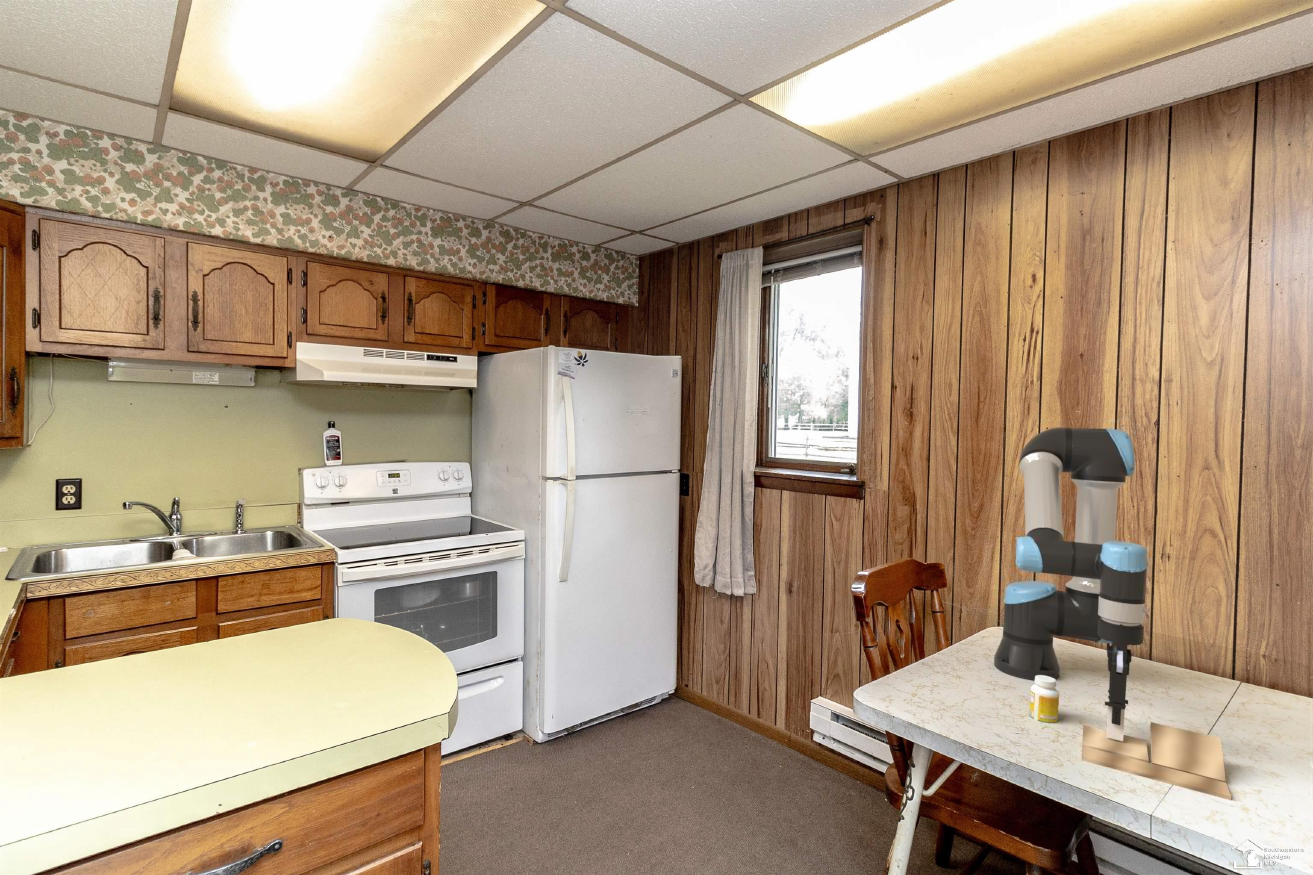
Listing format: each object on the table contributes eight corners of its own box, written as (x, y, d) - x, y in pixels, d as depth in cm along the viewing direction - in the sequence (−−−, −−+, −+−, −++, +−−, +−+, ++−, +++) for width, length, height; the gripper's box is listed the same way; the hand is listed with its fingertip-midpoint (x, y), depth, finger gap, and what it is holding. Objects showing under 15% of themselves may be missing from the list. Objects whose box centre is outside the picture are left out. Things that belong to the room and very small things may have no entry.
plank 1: (1081, 750, 129) (1082, 743, 129) (1082, 731, 137) (1083, 724, 137) (1148, 768, 124) (1148, 760, 124) (1145, 746, 131) (1145, 740, 131)
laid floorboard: (1081, 763, 124) (1081, 756, 124) (1081, 752, 129) (1082, 745, 129) (1230, 804, 112) (1231, 796, 112) (1225, 790, 117) (1225, 782, 117)
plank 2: (1151, 767, 124) (1152, 762, 123) (1150, 726, 130) (1150, 721, 129) (1224, 786, 118) (1225, 781, 117) (1219, 742, 124) (1220, 737, 123)
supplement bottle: (1023, 718, 144) (1025, 675, 144) (1039, 714, 146) (1041, 672, 146) (1047, 729, 139) (1049, 684, 139) (1063, 725, 141) (1065, 681, 141)
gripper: (1146, 633, 123) (1139, 757, 124) (1142, 616, 135) (1136, 729, 135) (1098, 625, 127) (1092, 745, 128) (1098, 609, 139) (1092, 719, 139)
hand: (1114, 736), depth 132 cm, fingers closed
